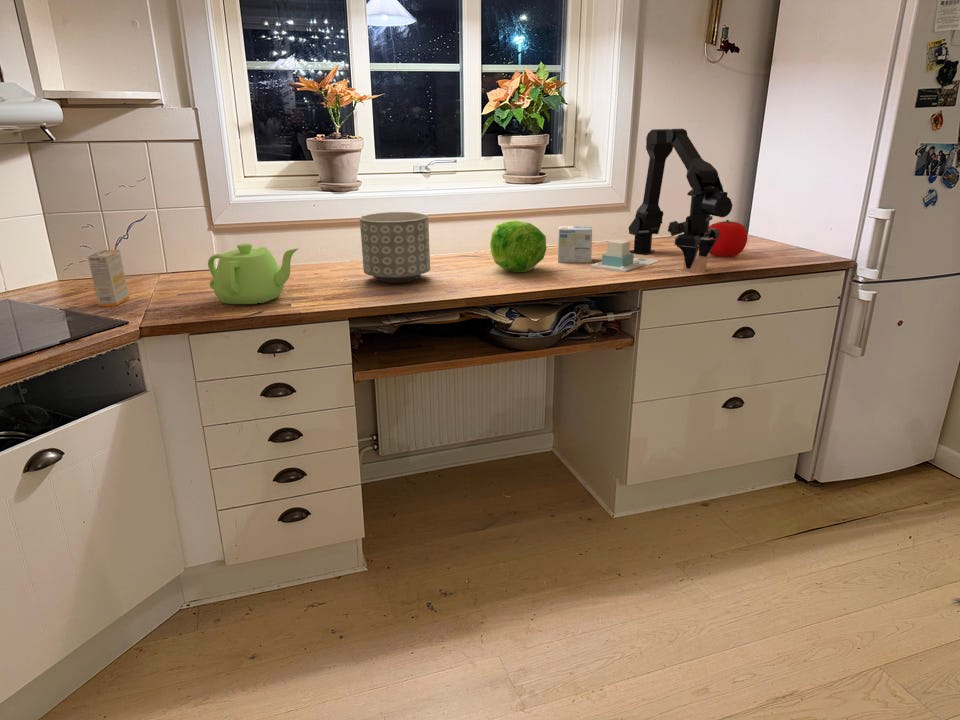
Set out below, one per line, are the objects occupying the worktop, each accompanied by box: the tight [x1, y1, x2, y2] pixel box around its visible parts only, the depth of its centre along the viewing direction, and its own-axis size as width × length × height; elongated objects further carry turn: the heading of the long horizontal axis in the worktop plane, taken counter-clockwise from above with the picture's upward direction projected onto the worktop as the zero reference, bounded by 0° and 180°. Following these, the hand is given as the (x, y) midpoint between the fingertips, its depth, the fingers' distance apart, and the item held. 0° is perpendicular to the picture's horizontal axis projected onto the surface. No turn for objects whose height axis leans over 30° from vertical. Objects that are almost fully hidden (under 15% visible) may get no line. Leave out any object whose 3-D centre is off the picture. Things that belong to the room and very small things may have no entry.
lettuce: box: [490, 220, 548, 273], centre depth 204 cm, size 17×20×15 cm
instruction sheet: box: [633, 257, 660, 266], centre depth 216 cm, size 7×10×1 cm
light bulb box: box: [557, 225, 593, 264], centre depth 216 cm, size 11×7×11 cm, turn 84°
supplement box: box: [87, 249, 130, 307], centre depth 174 cm, size 8×5×13 cm, turn 5°
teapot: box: [207, 243, 300, 305], centre depth 176 cm, size 19×20×14 cm
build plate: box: [589, 253, 645, 273], centre depth 209 cm, size 12×12×4 cm
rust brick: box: [682, 255, 708, 274], centre depth 202 cm, size 5×5×4 cm
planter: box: [359, 211, 431, 284], centre depth 193 cm, size 19×19×18 cm
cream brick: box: [606, 239, 631, 257], centre depth 207 cm, size 5×5×4 cm
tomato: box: [708, 219, 748, 258], centre depth 220 cm, size 13×14×12 cm
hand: (695, 265), depth 203 cm, fingers open, 9 cm apart
